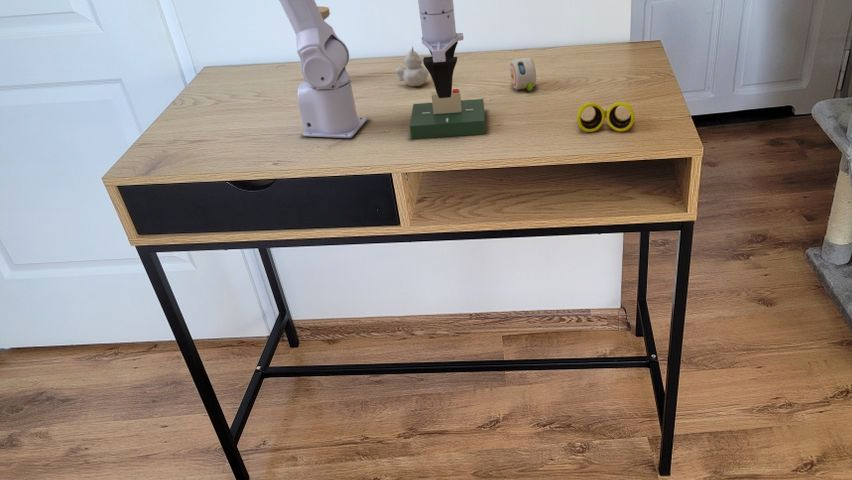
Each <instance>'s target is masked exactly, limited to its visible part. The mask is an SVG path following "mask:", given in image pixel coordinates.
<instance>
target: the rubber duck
mask: <svg viewBox="0 0 852 480" xmlns="http://www.w3.org/2000/svg"><path fill="white" fill-rule="evenodd" d="M403 64H404V66H405V67H403V66H398V67H396V68H395V69H394V72H395V75H396V80H397V81H399V82H405V83H406V84H407V85H408V86H410V87H420V86H422V85H424V84H425V83H426V82H427V80H428V78H429V71H428V70H427V69H426V67H425V66H424V65H422V64H423V59H422V58H421V57H420V56H419V53H418V52H417V51H415V50H414V46H412V47H411V49H410V50H409V52H408V53H407V54H406V55H405V57H404V60H403Z"/></svg>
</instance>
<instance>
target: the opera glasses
mask: <svg viewBox="0 0 852 480" xmlns="http://www.w3.org/2000/svg"><path fill="white" fill-rule="evenodd" d="M589 107H591V108H593V110H594V115H593V117H592V118H591V119H588V120H585V119H583V118H582V114H583V112H584V111H585V110H586V109H587V108H589ZM619 107H623V108H626V109H627V110H628V112H629V113H630V114H629V116H628V117H627V118H626V119H620V118H619V117H618V116H617V113H616V111H617V109H618V108H619ZM635 117H636V115H635V111H634V109H633V106H632V105H631V104H630V103H628V102H626V101H617V102H614V103H612V104H611V105H610V106H609V107H608V109H607V110H606V109H603V106H601V105H600V104H599V103H597V102H586V103H583V104H581V105H580V106H579V107H578V109H577V116H576V122H577V125H578V127H579V128H580V129H581V130H582V131H584V132H587V133H593V132H596V131H598V130H599V129H600V128H601V127H602V126H603V125H604V122H605V119H606V122H607V124H608V125H609V127H610V128H611V129H612V130H614V131H616V132H625V131H628V130H630V129H631V128H632V126H633V125H634V122H635Z"/></svg>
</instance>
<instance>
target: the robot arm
mask: <svg viewBox="0 0 852 480" xmlns="http://www.w3.org/2000/svg"><path fill="white" fill-rule="evenodd" d="M278 1H279V3H280V5H281V8H282V9H283V11H284V13H285V15H286V18H287V20H288V21H289V24H290V25H291V27H292V30H293V31H294V33H295V38H296V39H295V40H296V53H297V55H298V57H299V59H300V71H301V74H302V77H303V79H304V81H302V82H301V83H300V84H299V86H298V88H297V97H296V98H297V105H298V110H299V114H300V118H301V119H300V120H301V123H302V127H303V131H304V132H303V133H302V136H303V137H316V138H338V139H343V138H344V139H351V138H353V137H354V136H355V134H357V132H358V131H359V130H360V129H361V128H362V127H363V126H364V124H365V123H366V122H367V118H366V117H358V114H357V108H356V102H355V97H354V91H353V86H352V80H351V76H350V74H349V72H348V70H347V69H346V67H347V65H348V64H349V61H350V51H349V49H348V47H347V45H346V44H345V42H344V41H343V40H341V38H339V37H338V35H337V34H336V32H335V31H334V28H333V27H332V26H331V25H330V24H329V23H327V22H326V21H325V20H323V18H322V16H321V13H320V11H319V9H318V5H317V2H316V0H278ZM417 2H418V3H417V4H418V11H419V20H420V29H421V44H422V45H423V46H425V48H427V49H428V51H429V53H430V55H431V56H423V59H422V60H423V61H422V64H423V67H424V68H425V69H426V70H427V71H428V74H429V75H430V77H431V79H432V82H433V85H434V89H435V92H437V95H438V97H439V98H449V97H451V93H452V90H453V75H454V71H455V68H456V65H457V62H458V56H455V53H456V49H457V47H458V43H459V42H460V41H464V33H463V32H457V28H456V19H455V8H454V7H455V6H454V0H417Z"/></svg>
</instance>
